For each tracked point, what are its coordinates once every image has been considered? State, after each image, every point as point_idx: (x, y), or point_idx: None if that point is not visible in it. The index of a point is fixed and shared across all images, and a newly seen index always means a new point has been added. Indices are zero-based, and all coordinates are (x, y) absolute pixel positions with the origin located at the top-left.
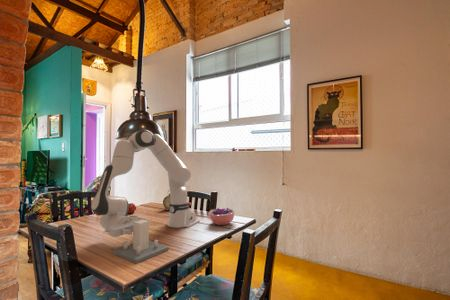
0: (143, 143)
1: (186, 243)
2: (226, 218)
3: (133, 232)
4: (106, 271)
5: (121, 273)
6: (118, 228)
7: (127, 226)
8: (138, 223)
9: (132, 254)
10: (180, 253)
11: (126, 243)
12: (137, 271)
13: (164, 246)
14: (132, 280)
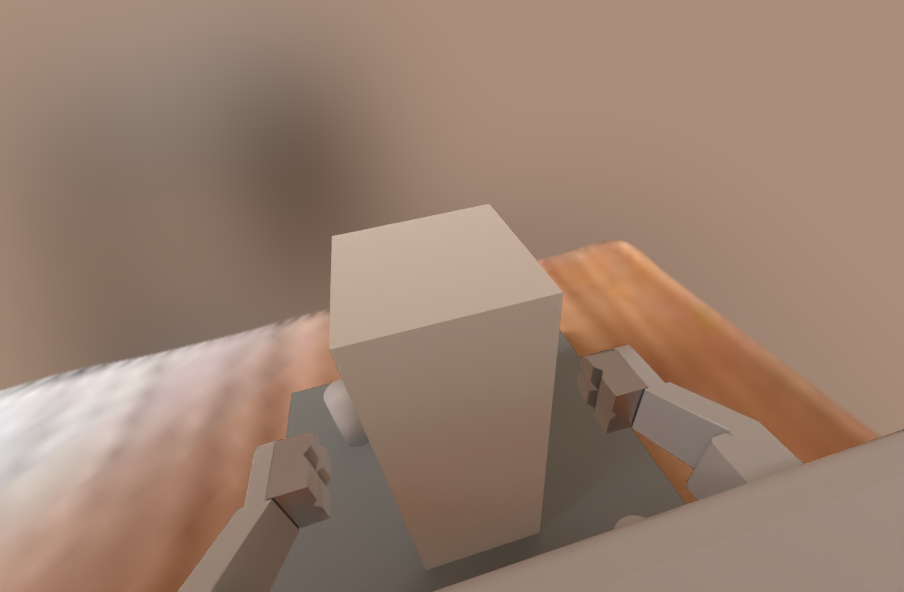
0: None
1: (119, 439)
2: None
3: (547, 423)
4: (735, 339)
5: (641, 294)
6: (902, 452)
7: (679, 513)
8: (500, 222)
9: (567, 411)
10: (301, 332)
11: (629, 518)
12: (565, 281)
13: (300, 415)
14: (595, 244)
